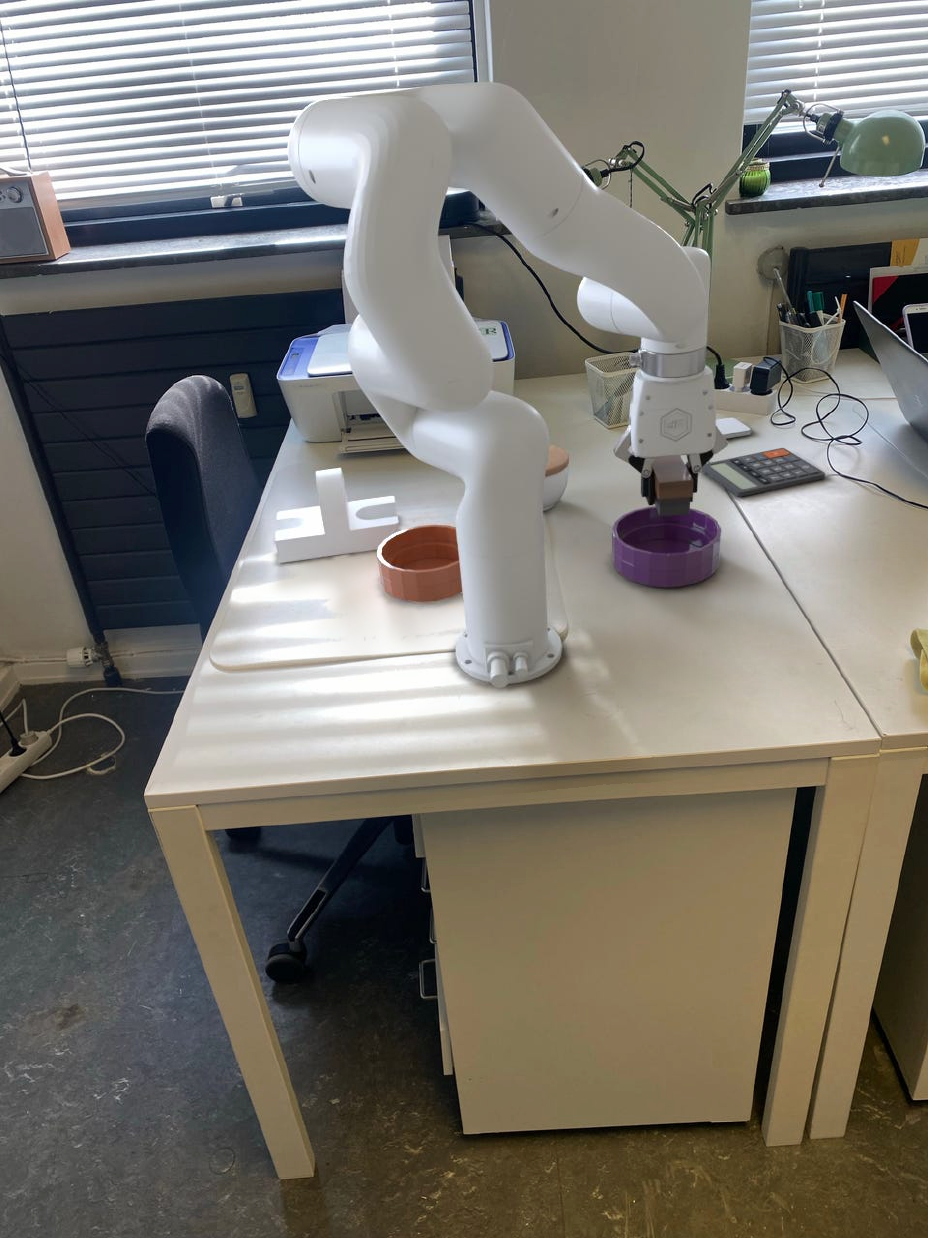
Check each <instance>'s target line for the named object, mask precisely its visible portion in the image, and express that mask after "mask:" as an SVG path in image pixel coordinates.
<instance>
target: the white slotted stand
mask: <svg viewBox="0 0 928 1238" xmlns="http://www.w3.org/2000/svg"><path fill="white" fill-rule="evenodd" d="M343 473H344V472H343V470H342V467H337V468H329V469H323V470H316V471H315V481H316V491H317V499H318V505H316V506H309V507H302V508H295V509H286V510H279V511H277V512H276V524H277V528H278V529H277V530H275V534H274V543H275V548H276V552H277V557H278V560H279V564H283V563H284V564H285V563H291V562H299V561H305V560H312V559H313V560H314V559H318V558H326V557H333V556H334V557H335V556H340V555H347V554H357V553H362V552H363V553H364V552H371V551H378V547H379V546H380V545H381V543H382V542H383V541H384V540H385V539H387V538H388V537H390V536H391V535H393V534H395V533H397V532H400V531H401V528H400V520H399V516H398V511H397V505H396V497H395V495H388V496H381V497H372V498H366V499H359V500H351V501H348V495H347V490H346V483H345V477H344V474H343Z"/></svg>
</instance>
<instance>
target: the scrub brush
mask: <svg viewBox="0 0 928 1238" xmlns="http://www.w3.org/2000/svg"><path fill="white" fill-rule="evenodd" d="M685 464H686V462H685V461H684V459H683V457H682V455H681V456H670V457H658V458H655V460H654V464H653V468H652V470H653V475H654V477H655V504H654V506H655V507H656V509H657V511H658V514H659V516H671V515H683V514H690V508H691V502H690V497H692V496H693V497H694V493H693V479H692V477H691V475H690V473H689V471H688V469H687V467H686V465H685Z"/></svg>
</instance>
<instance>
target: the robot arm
mask: <svg viewBox="0 0 928 1238" xmlns="http://www.w3.org/2000/svg"><path fill="white" fill-rule="evenodd" d="M287 160H288V164H289V167H290V171H291V173H292V175H293V178H294V179H295V182H296V183H297V184H298V186H299V187H300V189H302V190H303V191H304V192H305V194H306V195H308V196H309V197H310V198H312V199H313V200H314V201H316V202H318V203H320V204H322V205H325V206H328V207H333V208H339V209H348V210H350V212H349V217H348V223H347V230H346V237H345V246H344V252H343V277H344V283H345V286H346V289H347V292H348V294H349V297H350V299H351V302H352V303H353V305H354V307H355V309H356V311H357V313H358V315H357V316H356V318H355V319H354V320H353V323H352V325H351V327H350V329H349V334H348V340H347V357H348V362H349V366H350V369H351V373H352V375H353V377H354V379H355V382H356V383H357V385H358V386H359V388H360V390H361V391H362V392H363V394H364V395H365V397H366V398H367V399H368V401H369V402H370V403H371V404H372V406H373V408H374V409H375V410H376V412H377V413H378V414H379V415H380V418H382V420H383V421H384V422H385V423H386V425H387V426H388V428H389V429H390V430H391V432H392V433H393V434H394V437H396V439H398V441H399V442H400V444H402V446H403V447H404V448H405V449H406V450H407V451H408V452H409V453H410V454H411V455H412V456H413V457H414V458H416V459H418V460H419V461H421V462H423V463H425V464H427V465H430V466H432V467H434V468H436V469H439V470H441V471H444V472H446V473H448V474H450V475H453V476H454V477H457V478H459V479H461V480H462V481H463V483H464V488H465V489H464V490H465V491H464V494H463V497H462V499H461V501H460V503H459V505H458V508H457V512H456V514H455V515H456V517H455V527H456V535H457V543H458V552H459V562H460V572H461V581H462V591H463V592H462V599H463V601H462V602H463V610H464V619H465V630H466V631H465V632H463V634H462V635H460V637H459V638H458V640H457V641H456V645H455V658H456V662H457V664H458V666H459V667H460V669H461V670H462V671H463V672H464V673H466V674H467V675H468V676H470V677H472V678H474V679H477V680H479V681H482V682H486V683H490V684H491V685H492V687H493V688H496V689H504V688H506V687H507V685H510V684H520V683H525V682H529V681H532V680H534V679H537V678H540V677H541V676H543V675H545V674H547V673H548V672H550V671H552V669H554V668H555V666H556V665H557V664H558V663H559V662H560V659H561V657H562V652H563V645H562V639H561V637H560V635H559V633H558V632H557V631H556V630H555V629H554V628H553V627H551V626H550V625H549V624H548V601H547V600H548V599H547V580H546V578H547V577H546V557H545V556H546V555H545V533H544V511H543V489H544V479H545V473H546V467H547V461H548V455H549V447H550V445H551V443H550V442H551V440H550V439H551V437H550V431H549V429H548V425H547V423H546V421H545V419H544V417H543V416H542V415H541V414H540V413H539V411H538V410H537V409H536V408H534V407H533V406H531V405H530V404H529V403H527V402H526V401H524V400H522V399H520V398H518V397H516V396H513V395H511V394H508V393H507V394H506V393H503V392H500V391H496V390H494V389H492V387H493V384H494V379H495V365H494V360H493V355H492V354H491V350H490V348H489V346H488V343H487V341H486V339H485V337H484V335H483V334H482V332H481V330H480V328H479V327H478V325H477V324H476V322H475V320H474V318H473V316H472V315H471V313H470V311H469V310H468V307H467V306H466V304H465V302H464V301H463V299H462V297H461V296H460V294H459V291H458V290H457V289H456V287H455V285H454V283H453V281H452V279H451V278H450V275H449V273H448V271H447V268H446V267H445V265H444V262H443V260H442V258H441V254H440V248H439V229H440V228H439V227H440V222H441V221H440V220H441V217H442V211H443V207H444V203H445V200H446V197H447V193H448V190H449V188H450V189H451V188H452V189H464V190H466V191H469V192H470V193H472V194H473V195H474V196H475V197H477V199H478V200H479V201H480V202H481V203H482V204H483V205H484V206H485V207H486V208H487V209H488V210H489V211H490V212H491V213H492V214H493V215H494V216H495V218H497V219H498V220H499V221H500V222H501V223H502V224H503V225H504V226H505V227H506V228H507V229H508V231H509V232H510V233H511V234H512V235H513V236H514V237H515V238H516V239H517V241H519V242H520V243H521V245H523V247H524V248H525V249H526V250H527V251H528V252H530V253H531V255H532V256H534V257H536V258H538V259H539V260H541V261H543V262H545V263H547V264H549V265H551V266H553V267H555V268H558V269H559V270H562V271H565V272H567V273H570V274H573V275H575V276H576V275H577V276H580V277H582V280H581V282H580V284H579V286H578V290H577V296H576V303H577V308H578V311H579V313H580V315H581V317H582V318H583V319H584V321H585V322H586V323H588V324H589V325H590V326H592V327H594V328H596V329H598V330H601V331H605V332H609V333H614V334H619V335H624V336H632V337H637V338H640V339H641V340H640V342H641V343H640V344H639V349H638V351H636V352H635V353H629V354H628V365H629V366H630V367H631V366H635V367H638V368H639V369H637V370H636V371H635V375H634V379H633V383H632V389H631V394H630V395H631V396H630V405H629V414H628V415H629V416H628V427H627V429H626V430H625V432H624V433H623V434H622V436H621V437H620V439H619V440H618V441H617V443H616V444H615V446H614V447H613V449H612V451H613V453H614V456H615V458H618V459H620V460H621V461H623V462H625V463H628V464H629V465H630V466H631V467H632V468H633V469H635V470H636V471H637V472H638V473H639V474H640V495H641V498H645V500H646V502H647V504H648V507H651V506H654V505H655V477H654V475H653V470H652V468H653V464H654V460H655V458H658V457H670V456H681V457H682V456H686V458H687V461H686V462H685V465H686V467H687V469H688V471H689V473H690V475H691V477H692V479H693V494H697V493H698V485H699V484H698V483H699V473H701V472H702V467H703V466H704V465H705V464H706V463H709V461H710V460H712V458H714V456H715V455H717V454H718V453H720V452H721V451H722V450H724V449H725V448H727V447H728V446H729V442H728V440H727V438H726V439H725V437H724V436H723V434H722V433H721V432H720V430H719V429H718V427H717V426H716V419H717V406H716V403H717V402H716V387H715V379H714V374H713V373H714V372H713V370H712V368H710V367H709V366H708V365H707V364H706V363H707V348H708V347H707V346H708V344H707V343H708V326H709V307H710V305H709V304H710V292H711V291H710V290H711V289H710V288H711V286H710V285H711V270H712V267H711V265H712V262H711V258H710V255H709V254H708V252H707V251H706V250H704V249H702V248H699V247H695V246H684V245H683V246H682V245H680V244H679V243H678V242H677V241H676V240H675V239H674V238H673V237H672V235H670V234H669V233H668V232H666V231H665V229H663V228H662V227H660V226H659V225H657V224H656V223H654V222H653V221H652V220H650V219H649V218H647V217H646V216H644V215H643V214H641V213H639V212H637V211H636V210H634V209H633V208H632V207H630V206H629V205H627V204H625V202H623V201H621V200H620V199H618V198H617V197H616V196H613V194H610V193H609V192H607V191H605V190H603V189H601V188H600V187H599V186H597V185H596V184H595V183H594V182H593V180H591V179H590V177H589V176H588V175H587V173H585V171H584V170H583V169H582V167H581V165H579V163H578V162H577V161H576V160H575V159H574V157H573V156H572V154H571V153H570V152H569V150H568V149H567V148H566V147H565V145H563V143H562V142H561V140H560V139H559V138H558V137H557V135H556V134H555V133H554V132H553V130H551V128H550V127H549V126H548V124H547V123H546V122H545V120H544V119H543V118H542V117H541V115H540V114H539V113H538V112H537V109H535V108H534V107H533V105H532V104H531V103H530V102H529V100H528V99H527V98H526V97H525V96H524V95H522V94H521V92H519V91H518V90H517V89H515V88H514V87H512V86H510V85H507V84H505V83H500V82H495V81H494V82H493V81H476V82H462V83H461V82H460V83H441V84H439V83H438V84H432V85H424V86H419V87H414V88H407V89H401V90H394V91H393V90H392V91H387V92H386V91H385V92H376V93H375V92H373V93H366V94H357V95H346V96H333V97H326V98H321V99H318V100H316V101H314V102H312V103H310V104H309V105H308V106H306V107H305V108H304V109H303V110H301V112H300V113H299V114H298V116H297V117H296V118H295V120H294V123H293V124H292V126H291V128H290V132H289V135H288V141H287ZM630 447H631V450H632V451H631V450H630ZM693 501H694V495H693V496H692V497H690V503H693Z"/></svg>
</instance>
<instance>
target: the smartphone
mask: <svg viewBox="0 0 928 1238" xmlns="http://www.w3.org/2000/svg"><path fill="white" fill-rule="evenodd" d="M716 426H717V427H718V429H719V430H720V432H721V433H722V434H723V436H724V437H725V439H726V440H727V439H731V438H737V437H738V438H739V437H746V436H750V435H751V434H752V428H751V427H749V426H748V425H747V424H744V423H743V422H741V421H740V420H739V419H737V418H735V417H730V416H729V417H723V418H716Z"/></svg>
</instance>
